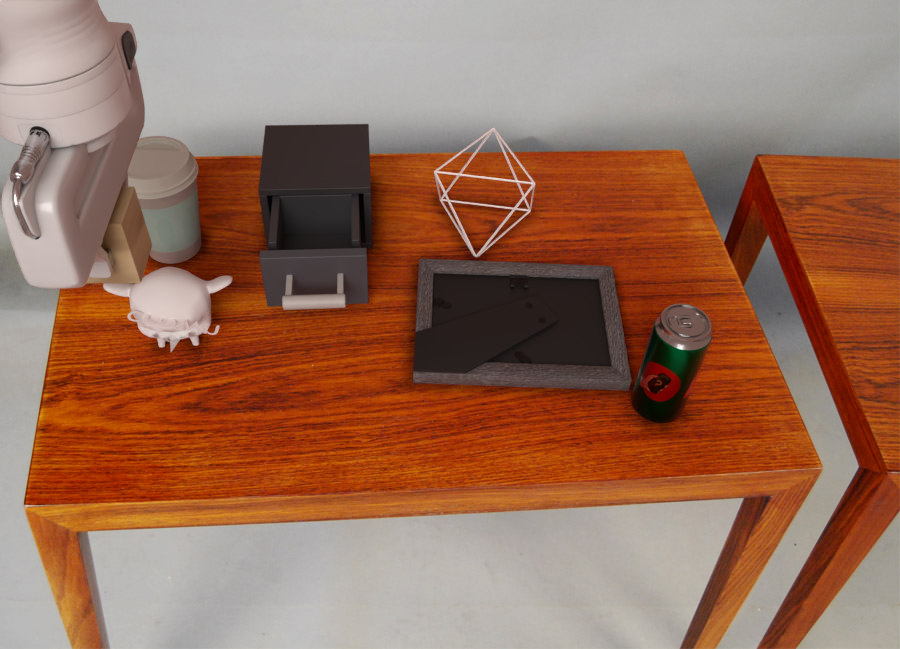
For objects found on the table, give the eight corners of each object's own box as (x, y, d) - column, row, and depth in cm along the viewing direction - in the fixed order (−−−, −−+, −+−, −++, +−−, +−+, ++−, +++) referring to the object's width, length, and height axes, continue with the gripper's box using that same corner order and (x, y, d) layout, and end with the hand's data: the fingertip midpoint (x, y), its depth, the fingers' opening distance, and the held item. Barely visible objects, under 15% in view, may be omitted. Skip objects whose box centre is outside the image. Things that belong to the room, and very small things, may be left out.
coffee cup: (230, 239, 96) (212, 151, 87) (175, 283, 91) (150, 194, 82) (174, 211, 99) (151, 123, 90) (117, 252, 94) (88, 163, 85)
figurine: (128, 323, 89) (105, 372, 80) (114, 248, 85) (88, 292, 76) (246, 317, 90) (235, 365, 82) (237, 244, 86) (225, 286, 78)
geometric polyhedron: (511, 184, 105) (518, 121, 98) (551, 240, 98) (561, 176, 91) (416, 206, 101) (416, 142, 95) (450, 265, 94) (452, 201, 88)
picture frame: (413, 383, 83) (628, 390, 84) (413, 369, 82) (632, 377, 82) (419, 268, 94) (609, 276, 94) (419, 255, 92) (612, 263, 93)
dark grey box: (372, 248, 96) (370, 187, 90) (267, 251, 95) (258, 189, 89) (370, 183, 104) (368, 123, 97) (273, 185, 103) (265, 125, 96)
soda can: (687, 427, 81) (722, 343, 72) (634, 426, 81) (662, 342, 72) (676, 385, 84) (709, 300, 75) (625, 384, 84) (652, 299, 75)
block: (83, 283, 66) (59, 224, 62) (97, 245, 69) (75, 186, 65) (141, 283, 66) (121, 224, 62) (152, 245, 69) (134, 186, 65)
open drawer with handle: (369, 334, 86) (367, 286, 81) (264, 338, 85) (256, 289, 80) (367, 236, 96) (365, 188, 91) (273, 238, 95) (265, 190, 90)
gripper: (62, 188, 49) (123, 346, 59) (138, 13, 63) (177, 166, 73) (-50, 188, 49) (30, 347, 59) (51, 12, 63) (102, 165, 73)
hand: (112, 245), depth 66 cm, fingers closed on block, 4 cm apart
